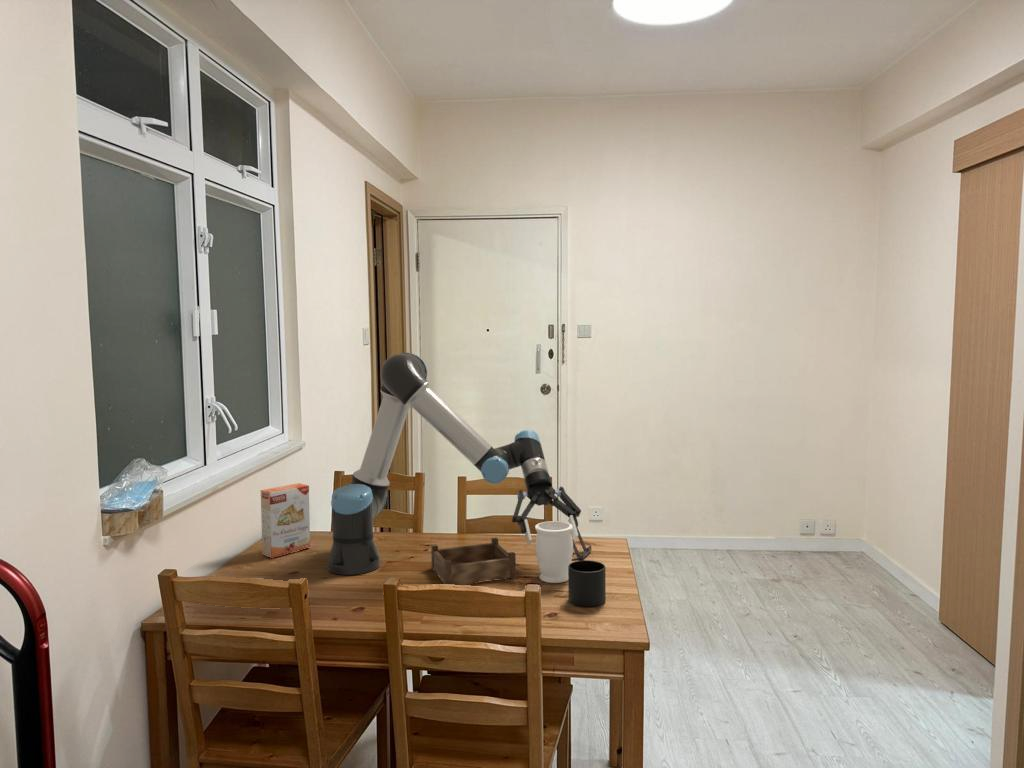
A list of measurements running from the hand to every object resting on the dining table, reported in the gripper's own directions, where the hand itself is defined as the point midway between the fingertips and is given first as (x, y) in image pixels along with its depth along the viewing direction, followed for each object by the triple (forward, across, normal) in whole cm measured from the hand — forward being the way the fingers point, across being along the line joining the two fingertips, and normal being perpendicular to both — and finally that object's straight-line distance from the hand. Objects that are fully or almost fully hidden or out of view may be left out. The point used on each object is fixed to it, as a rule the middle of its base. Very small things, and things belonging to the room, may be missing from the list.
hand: (553, 540), depth 203 cm
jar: (+9, 0, +6) cm, 11 cm away
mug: (+21, +3, -6) cm, 22 cm away
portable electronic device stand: (-4, +12, +19) cm, 23 cm away
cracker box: (-25, -73, +39) cm, 87 cm away
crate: (+1, -21, +14) cm, 25 cm away
